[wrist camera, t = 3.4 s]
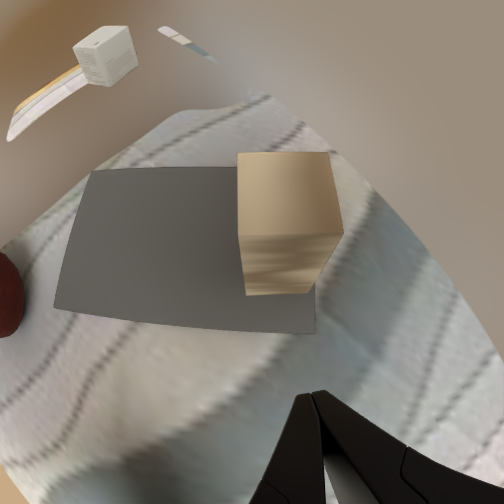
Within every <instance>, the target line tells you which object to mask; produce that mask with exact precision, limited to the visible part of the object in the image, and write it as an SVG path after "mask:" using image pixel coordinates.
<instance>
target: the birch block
mask: <svg viewBox="0 0 504 504" xmlns="http://www.w3.org/2000/svg"><path fill="white" fill-rule="evenodd" d="M237 173H238V239H239V247H240V254H241V261H242V269H243V276H244V283H245V290H246V296H248V295H276V294H298V293H308V292H309V291H310V289H311V287H312V286H313V284H314V282H315V281H316V279H317V278H318V276H319V274H320V273H321V271H322V269H323V268H324V266H325V264H326V263H327V261H328V259H329V258H330V256H331V254H332V252H333V251H334V249H335V247H336V246H337V244H338V242H339V240H340V239H341V237H342V235H343V233H344V230H343V224H342V219H341V213H340V208H339V203H338V197H337V192H336V187H335V183H334V178H333V173H332V169H331V164H330V160H329V155H328V152H250V153H237Z"/></svg>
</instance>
